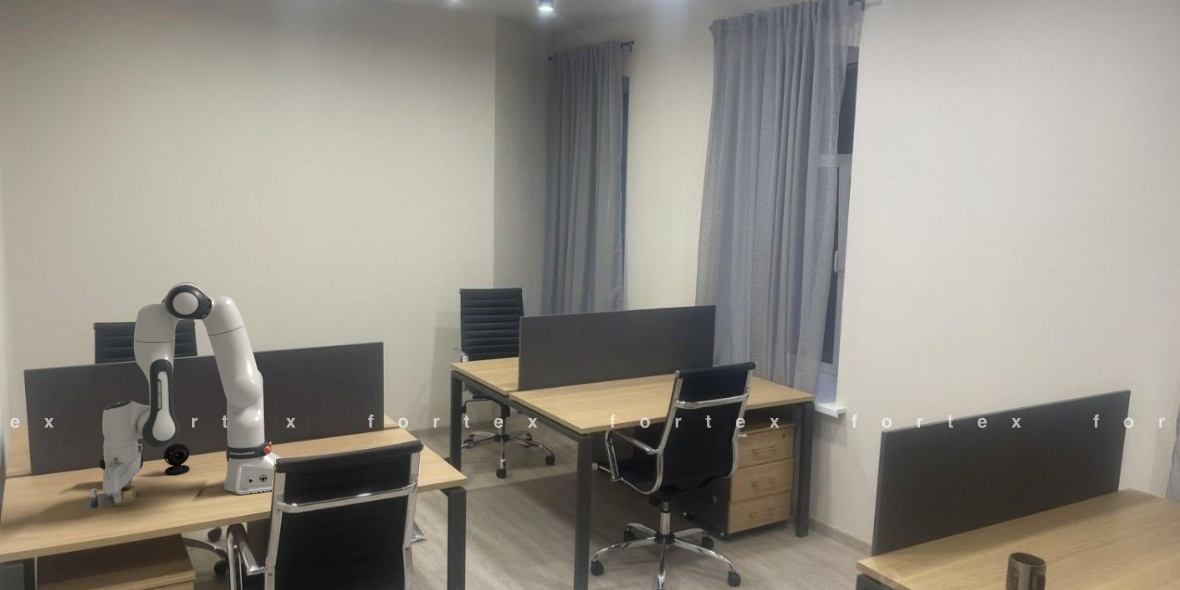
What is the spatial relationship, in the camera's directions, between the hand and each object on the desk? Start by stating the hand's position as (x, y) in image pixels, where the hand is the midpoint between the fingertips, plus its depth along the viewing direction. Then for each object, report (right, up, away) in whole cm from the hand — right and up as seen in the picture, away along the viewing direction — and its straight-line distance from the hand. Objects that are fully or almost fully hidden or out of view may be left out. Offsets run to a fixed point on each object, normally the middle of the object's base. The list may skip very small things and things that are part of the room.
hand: (123, 497), depth 230 cm
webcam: (+1, +1, +29) cm, 29 cm away
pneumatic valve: (-10, -1, +16) cm, 19 cm away
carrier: (-4, -2, +1) cm, 5 cm away
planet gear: (0, -1, 0) cm, 1 cm away
